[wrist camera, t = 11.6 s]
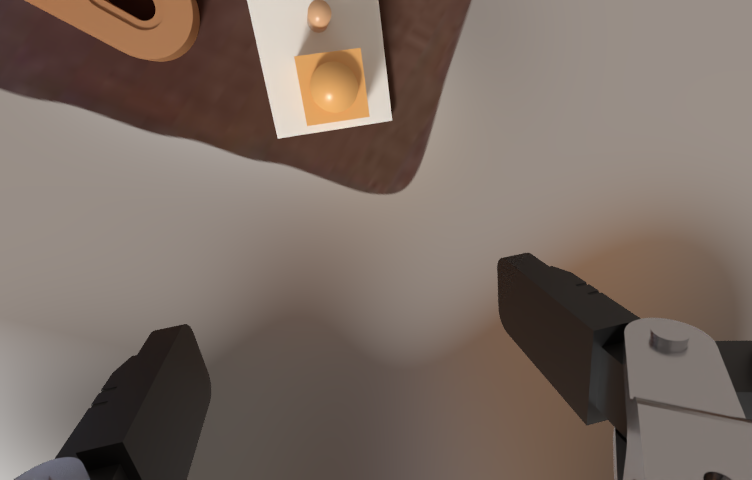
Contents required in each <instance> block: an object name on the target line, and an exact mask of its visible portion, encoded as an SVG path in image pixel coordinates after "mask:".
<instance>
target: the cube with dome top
mask: <svg viewBox="0 0 752 480" xmlns="http://www.w3.org/2000/svg"><path fill="white" fill-rule="evenodd" d="M294 59H295V64H296V70H297V75H298V80H299V86H300V91H301V96H302V102H303V107H304V112H305V117H306V123H307V126H312V125H318V124H325V123H332V122H338V121H345V120H351V119H358V118H365V117H370V115H369V108H368V100H367V92H366V85H365V77H364V70H363V62H362V54H361V48H355V49H347V50H339V51H332V52H324V53H316V54H309V55H301V56H294Z"/></svg>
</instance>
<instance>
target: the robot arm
mask: <svg viewBox="0 0 752 480" xmlns="http://www.w3.org/2000/svg"><path fill="white" fill-rule="evenodd" d="M497 271H498V303H499V315H500V319H501V322H502V324H503V327H504V329H505V330H506V332H507V333H508V334H509V335H510V337H511V338H512V339H513V340H514V341H515V342H516V344H517V345H518V346H519V347H520V348H521V349H522V351H523V352H524V353H525V354H526V355H527V356H528V358H529V359H530V360H531V361H532V362H533V363H534V364H535V366H536V367H537V368H538V369H539V370H540V371H541V373H542V374H543V375H544V376H545V377H546V379H547V380H548V381H549V382H550V383H551V384H552V386H553V387H554V388H555V389H556V390H557V391H558V393H559V394H560V395H561V396H562V397H563V398H564V400H565V401H566V402H567V403H568V404H569V405H570V407H571V408H572V409H573V410H574V411H575V412H576V413H577V415H578V416H579V417H580V418H581V419H582V421H583V422H584V423H585V424H586V425H590V424H594V423H597V422H601V421H605V420H609V421H610V422H611V423H612V425H613V426H614V435H613V451H614V480H752V341H714V340H713V339H712V338H711V337H710V336H709V335H707V334H706V333H705V332H703V331H701V330H700V329H698V328H696V327H694V326H691V325H688V324H685V323H683V322H679V321H675V320H670V319H664V318H643V319H640V318H639V317H637V316H636V315H634V314H633V313H631V312H630V311H628V310H627V309H625V308H624V307H622V306H621V305H619V304H618V303H616V302H615V301H613V300H612V299H610V298H609V297H607V296H606V295H604V294H603V293H599V292H598V290H597V289H595V288H594V287H592V286H591V285H587V284H586V282H585V281H583V280H582V279H580V278H579V277H577V276H576V275H574V274H573V273H571V272H568V271H565V270H562V269H559V268H556V267H553V266H550V267H549V266H548V265H546V264H545V263H543V262H542V261H540V260H539V259H538V258H536V257H535V256H533V255H532V254H530V253H524V254H519V255H514V256H509V257H505V258H501V259H500V260H499V261H498V266H497ZM101 391H102V392H101V393H99V394H98V395H97V397H96V398H95V400H94V401H93V403H92V407H91V408H89V409H88V410H87V412H86V413H85V415H84V417H83V418H82V419H81V421H80V422H79V423H78V425H77V426H76V428H75V429H74V431H73V432H72V434H71V435H70V437H69V438H68V440H67V441H66V443H65V444H64V446H63V447H62V449H61V450H60V452H59V453H58V455H57V456H56V458H55V459H53V460H50V461H47V462H45V463H42V464H40V465H38V466H36V467H34V468H32V469H30V470H28V471H26V472H25V473H23V474H21V475H20V476H18V477H17V478H15V479H14V480H187V477H188V473H189V470H190V467H191V463H192V460H193V457H194V453H195V450H196V447H197V443H198V440H199V437H200V433H201V430H202V427H203V423H204V420H205V416H206V413H207V410H208V406H209V403H210V399H211V382H210V377H209V374H208V371H207V368H206V366H205V363H204V360H203V358H202V355H201V352H200V350H199V347H198V344H197V341H196V339H195V336H194V333H193V331H192V329H191V328H190V326H188V325H187V324H184V325H179V326H174V327H170V328H165V329H160V330H155V331H153V332H152V333H151V334H150V335H149V337H148V339H147V340H146V342H145V343H144V345H143V347H142V348H141V350H140V352H139V353H138V355H136V356H132V357H131V358H129V359H128V360H127V361H126V362H125V363H124V364H122V365H121V366H120V367H119V368H118V369H117V370H116V371H114V372H113V373H112V375H111V376H110V378H109V379H108V381H107V382H106V384H105V385H104V387H103V388H102V390H101Z"/></svg>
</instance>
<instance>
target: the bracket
mask: <svg viewBox="0 0 752 480" xmlns="http://www.w3.org/2000/svg"><path fill="white" fill-rule="evenodd" d="M25 1H27V2H29V3H31V4H33V5H35V6H37V7H38V8H40V9H42V10H44V11H46V12H48V13H50V14H52V15H54V16H56V17H57V18H59V19H61V20H63V21H65V22H67V23H69V24H71V25H73V26H75V27H76V28H78V29H80V30H82V31H84V32H86V33H88V34H90V35H92V36H94V37H95V38H97V39H99V40H101V41H103V42H105V43H107V44H109V45H111V46H113V47H114V48H116V49H118V50H120V51H122V52H124V53H126V54H128V55H131V56H133V57H137V58H141V59H146V60H150V61H160V62H162V61H170V60H173V59H176V58H178V57H180V56H182V55H184V54H185V53H186V52H187V51H188V50H189V49H190V48H191V47H192V45H193V44H194V42H195V40H196V38H197V35H198V32H199V26H200V14H199V8H198V5H197V2H196V0H153V2H154V4H155V8H156V11H155V15H154V16H153V18H152V19H150V20H148V21H142V20H140V19H138V18H137V17H135V16H133V15H131V14H129V13H128V12H126V11H124V10H122V9H120V8H119V7H117V6H115V5H113V4H112V3H111V2H110V1H109V0H25Z"/></svg>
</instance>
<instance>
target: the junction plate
mask: <svg viewBox="0 0 752 480" xmlns="http://www.w3.org/2000/svg"><path fill="white" fill-rule="evenodd" d="M247 2H248V7H249V11H250V16H251V20H252V25H253V29H254V34H255V38H256V43H257V47H258V52H259V56H260V61H261V65H262V70H263V74H264V79H265V83H266V88H267V92H268V97H269V101H270V106H271V110H272V115H273V119H274V124H275V128H276V133H277V137H278V138H284V137H291V136H297V135H304V134H310V133H316V132H323V131H329V130H335V129H342V128H348V127H354V126H361V125H367V124H373V123H380V122H386V121H392V114H391V105H390V97H389V88H388V79H387V70H386V62H385V53H384V44H383V36H382V27H381V18H380V10H379V1H378V0H247ZM355 48H361V54H362V62H363V70H364V77H365V85H366V92H367V100H368V108H369V115H370V117H365V118H358V119H351V120H345V121H338V122H332V123H325V124H318V125H312V126H307V123H306V117H305V112H304V107H303V102H302V96H301V91H300V86H299V80H298V75H297V70H296V64H295V59H294V56H301V55H309V54H316V53H324V52H332V51H339V50H347V49H355Z"/></svg>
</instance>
